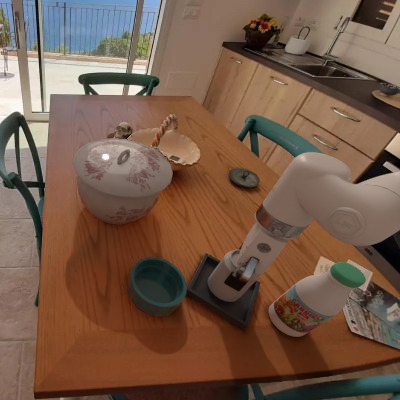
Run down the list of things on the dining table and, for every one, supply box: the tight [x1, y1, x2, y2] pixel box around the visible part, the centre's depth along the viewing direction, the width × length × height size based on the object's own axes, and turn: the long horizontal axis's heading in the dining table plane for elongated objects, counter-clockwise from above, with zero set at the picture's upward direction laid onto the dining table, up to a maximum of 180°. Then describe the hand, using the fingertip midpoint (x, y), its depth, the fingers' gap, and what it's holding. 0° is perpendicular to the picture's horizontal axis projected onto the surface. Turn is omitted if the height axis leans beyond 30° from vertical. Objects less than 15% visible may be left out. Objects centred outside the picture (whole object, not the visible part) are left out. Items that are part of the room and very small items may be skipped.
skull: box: [106, 121, 134, 139], centre depth 115 cm, size 12×10×10 cm
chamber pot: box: [72, 138, 174, 226], centre depth 78 cm, size 28×28×21 cm
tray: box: [185, 252, 262, 331], centre depth 65 cm, size 14×14×2 cm
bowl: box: [126, 256, 188, 317], centre depth 63 cm, size 13×13×5 cm
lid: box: [228, 167, 261, 188], centre depth 98 cm, size 11×10×5 cm
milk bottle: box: [268, 261, 367, 338], centre depth 54 cm, size 8×8×20 cm
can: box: [208, 248, 260, 302], centre depth 61 cm, size 8×8×12 cm
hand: (237, 271), depth 60 cm, fingers open, 9 cm apart
